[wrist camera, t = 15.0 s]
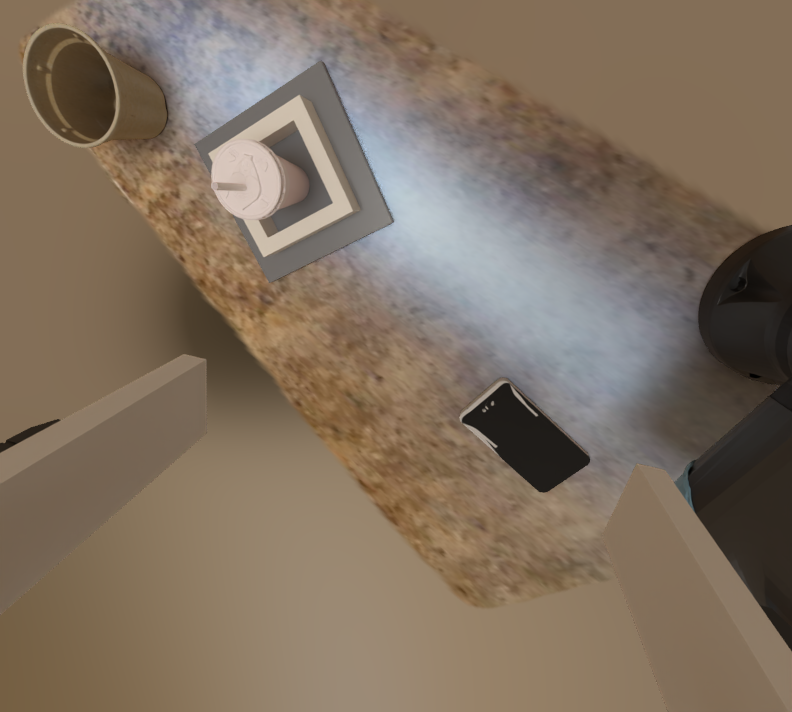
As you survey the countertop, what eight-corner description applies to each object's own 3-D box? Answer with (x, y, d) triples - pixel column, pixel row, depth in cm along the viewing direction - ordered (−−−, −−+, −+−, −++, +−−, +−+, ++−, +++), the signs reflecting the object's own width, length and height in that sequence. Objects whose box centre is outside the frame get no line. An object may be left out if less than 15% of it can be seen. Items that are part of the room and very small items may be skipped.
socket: (393, 222, 44) (386, 224, 40) (273, 281, 49) (256, 288, 45) (324, 63, 40) (309, 49, 36) (200, 145, 45) (175, 140, 41)
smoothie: (260, 207, 45) (174, 211, 32) (267, 143, 42) (176, 119, 30) (316, 223, 44) (250, 233, 31) (326, 159, 42) (260, 141, 29)
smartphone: (542, 495, 52) (456, 417, 50) (541, 488, 53) (456, 412, 51) (593, 460, 49) (503, 377, 47) (590, 454, 50) (502, 373, 48)
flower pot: (176, 169, 46) (113, 163, 38) (99, 137, 46) (22, 125, 38) (188, 75, 42) (122, 47, 34) (106, 41, 43) (21, 5, 35)
